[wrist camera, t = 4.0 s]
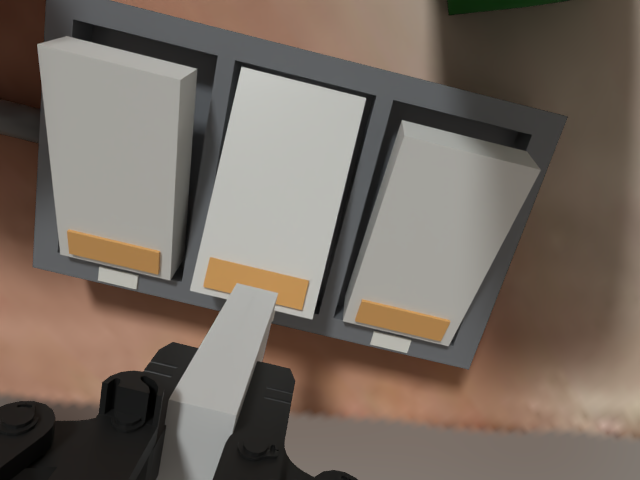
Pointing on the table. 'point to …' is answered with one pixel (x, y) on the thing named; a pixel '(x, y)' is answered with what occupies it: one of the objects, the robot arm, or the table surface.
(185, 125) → the rocker
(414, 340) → the grey compartment tray
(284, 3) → the table surface
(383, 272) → the rocker
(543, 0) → the milk carton
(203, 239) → the rocker
